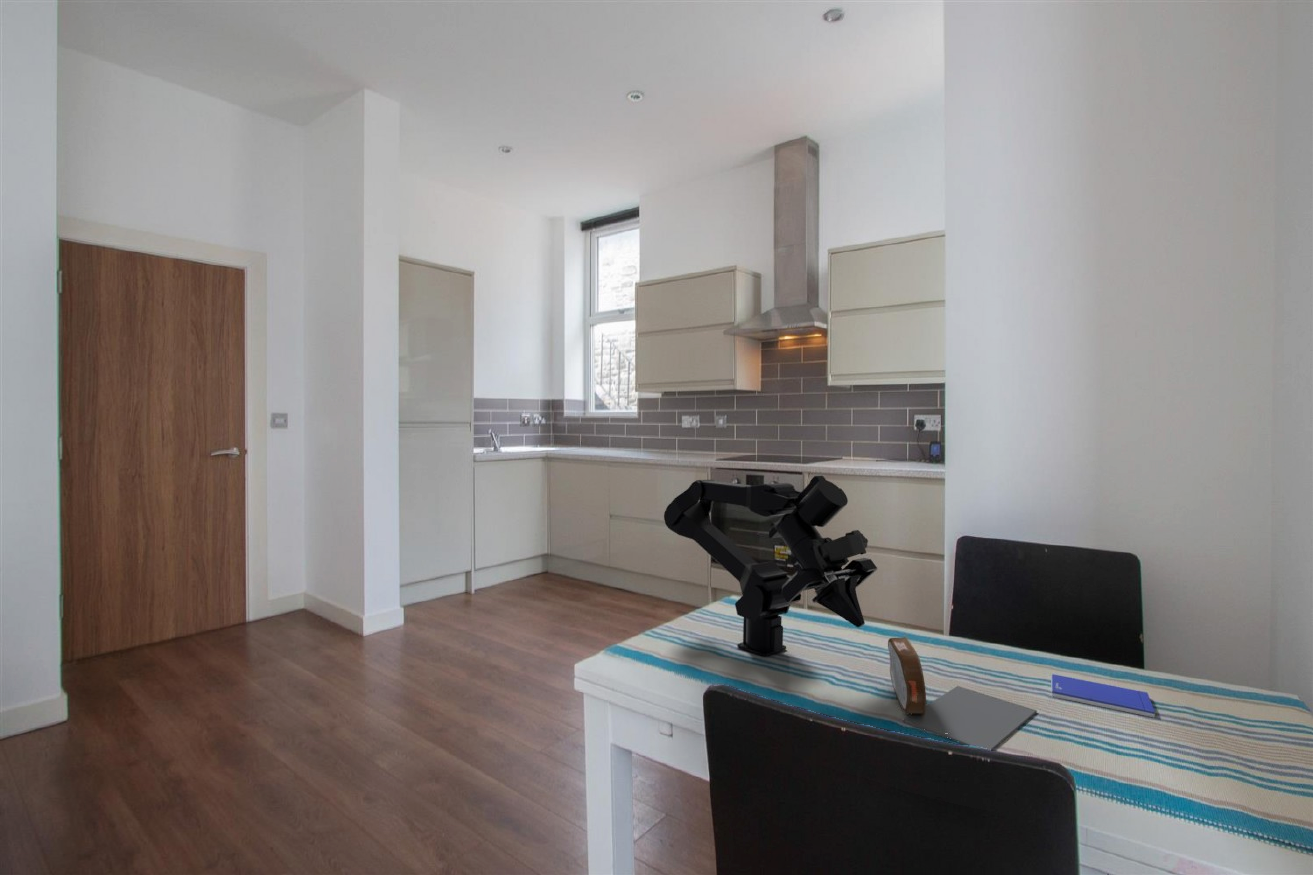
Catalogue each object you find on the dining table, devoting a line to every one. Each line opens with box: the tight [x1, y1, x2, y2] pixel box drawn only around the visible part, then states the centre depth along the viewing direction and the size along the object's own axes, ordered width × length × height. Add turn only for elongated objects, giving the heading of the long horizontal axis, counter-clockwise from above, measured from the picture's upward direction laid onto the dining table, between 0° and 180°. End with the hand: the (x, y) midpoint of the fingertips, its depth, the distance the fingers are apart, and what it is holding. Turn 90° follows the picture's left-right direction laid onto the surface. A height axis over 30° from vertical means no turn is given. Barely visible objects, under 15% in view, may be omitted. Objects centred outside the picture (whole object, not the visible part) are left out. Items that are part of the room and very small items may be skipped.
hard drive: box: [1050, 673, 1156, 718], centre depth 96 cm, size 2×8×12 cm
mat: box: [902, 685, 1038, 751], centre depth 88 cm, size 11×18×1 cm, turn 132°
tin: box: [887, 636, 927, 715], centre depth 92 cm, size 15×3×8 cm, turn 168°
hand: (861, 625), depth 98 cm, fingers closed
